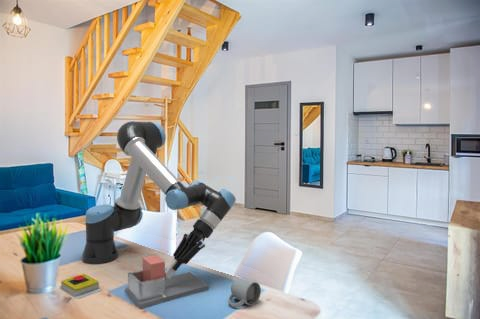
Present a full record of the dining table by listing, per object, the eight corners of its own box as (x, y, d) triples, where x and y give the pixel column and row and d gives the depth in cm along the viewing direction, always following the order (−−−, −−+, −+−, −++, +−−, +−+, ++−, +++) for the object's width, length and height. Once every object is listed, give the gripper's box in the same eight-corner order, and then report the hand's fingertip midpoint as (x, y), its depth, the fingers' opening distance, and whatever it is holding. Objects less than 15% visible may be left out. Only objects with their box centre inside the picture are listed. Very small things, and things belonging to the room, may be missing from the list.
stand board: (125, 291, 129) (124, 287, 129) (189, 275, 144) (189, 271, 144) (140, 308, 117) (140, 303, 116) (208, 289, 132) (208, 284, 132)
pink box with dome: (142, 286, 129) (142, 257, 128) (158, 282, 132) (158, 254, 131) (151, 295, 122) (151, 264, 122) (167, 290, 126) (167, 260, 125)
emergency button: (82, 269, 139) (103, 279, 130) (82, 280, 139) (103, 291, 130) (58, 276, 132) (78, 288, 122) (58, 288, 132) (78, 300, 123)
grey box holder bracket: (128, 289, 127) (127, 272, 127) (152, 283, 133) (152, 267, 132) (139, 301, 118) (139, 284, 118) (164, 294, 124) (164, 277, 123)
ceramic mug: (244, 293, 129) (244, 272, 128) (261, 301, 123) (261, 279, 122) (222, 303, 121) (222, 281, 121) (239, 312, 116) (239, 289, 115)
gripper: (221, 234, 134) (181, 288, 126) (203, 226, 145) (165, 275, 136) (209, 222, 131) (167, 277, 122) (192, 215, 141) (152, 265, 133)
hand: (166, 276), depth 129 cm, fingers closed
